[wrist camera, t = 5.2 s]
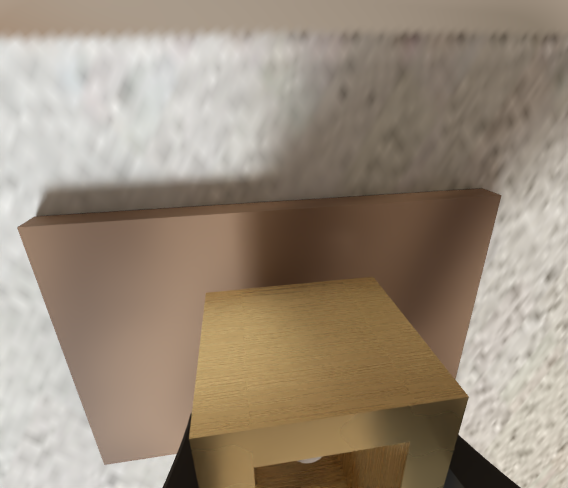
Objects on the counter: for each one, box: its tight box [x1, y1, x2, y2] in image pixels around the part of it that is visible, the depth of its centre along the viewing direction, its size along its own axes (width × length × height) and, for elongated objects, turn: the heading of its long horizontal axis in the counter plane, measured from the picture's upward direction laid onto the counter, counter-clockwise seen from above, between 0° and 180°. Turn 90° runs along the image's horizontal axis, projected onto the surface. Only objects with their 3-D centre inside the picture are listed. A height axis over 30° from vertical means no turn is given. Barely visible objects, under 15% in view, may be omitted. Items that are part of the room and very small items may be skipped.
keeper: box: [17, 188, 501, 465], centre depth 12 cm, size 16×11×6 cm
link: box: [189, 277, 469, 488], centre depth 9 cm, size 8×5×4 cm, turn 1°
